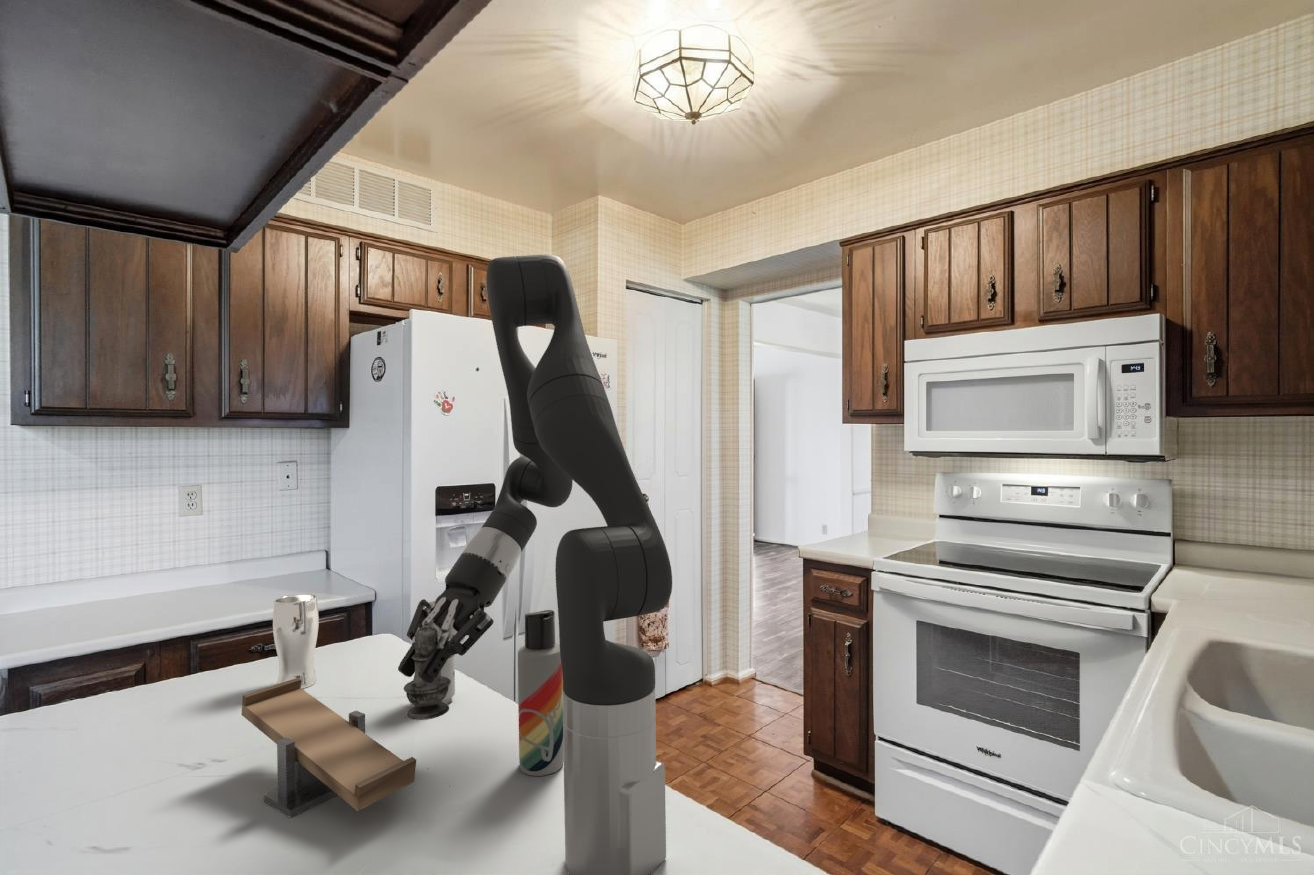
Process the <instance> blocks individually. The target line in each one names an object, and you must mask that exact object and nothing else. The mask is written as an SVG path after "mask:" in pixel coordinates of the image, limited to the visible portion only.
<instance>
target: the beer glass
mask: <svg viewBox="0 0 1314 875" xmlns="http://www.w3.org/2000/svg"><path fill="white" fill-rule="evenodd" d="M272 613H273V614H272V632H273V634H272V635H273V641H274V647H275V650H276V654H277V659H278V677H277V682H276V684H279V683H283V682H286V681H289V680H292V679H295V678H300V679H301V689H303V690H304V689H306V687H307V688H308V687H309V688H310V687H311V686H313V685H315V684H316V682H317V680H318V679H317V674H316V669H315V662H314V661H315V652H316V646H317V640H318V633H319V627H320V626H319V622H320V620H319V619H320V616H319V607H318V596H317V595H316V594H312V593H298V594H291V595H286V596H281V597H280V596H279V597H278V598H276V599H274V601H273V612H272Z"/></svg>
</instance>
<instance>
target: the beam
mask: <svg viewBox="0 0 1314 875" xmlns="http://www.w3.org/2000/svg"><path fill="white" fill-rule="evenodd" d="M241 716H242V717H243V718H244V719H246V720H247V721H248V722H249V723H251V724H252V725H253V726H254V727H255V728H256V729H257V730H259V731H260V732H262V733H263V734H264V735H265V736H266V737H268V738H269V739H270V740H271V741H272V742H274V744H276V745H277V741H278V740H281V739H283V738H288V739H290V740H292V741H294V742H295V760H296V761H298V762H299V763H300V764H301V765H302V766H304V767H305V768H306V769H307V770H308V771H310V772H311V773H312V774H313V775H314V776H316V777H317V778H318V779H319V780H320V781H322V782H323V783H324V784H325V785H326V786H328V787H329V788H330V789H331V790H333V791H334V792H335V793H336V794H337V795H336V796H338V797H340V798H341V799H342V800H343V801H344V802H346V803H347V804H348V805H349V806H351V807H352V808H353V809H354V810H355V811H356V812H359V811H361V810H363V809H364V808H366V807H368V806H370V805H372V804H374V803H376V802H379V801H380V800H381V799H384V798H385V797H387V796H389V795H391V794H393V793H395V792H397V791H399V790H401V789H402V788H403V789H404V788H405V787H407V786H408V785H410V784H412V783H414V782H415V779H416V778H415V777H416V768H417V759H416V758H415V757H414V756H410V757H408V758H407V759H405V760H403V759H402V758H400V757H399V756H398V755H396V754H394V753H393V752H392V751H390V750H389V749H388V748H386V747H384V746H383V745H382V744H380V743H379V742H378V741H376V740H374V739H373V738H372V737H371V736H369V735H368V734H366V732H365V733H363V732H362V731H361V730H359V729H358V728H356V727H355V726H354V725H352V724H351V723H349V720H347V719H345V718H344V717H342V716H341V715H339V714H338V713H336V712H335V711H334V710H332V709H331V708H330V707H328V706H327V705H325V704H324V703H322V702H321V701H320V700H318V699H317V698H316V697H315V696H312V694H310V693H308V692H307V691H306V690H304V688H303V689H301V679H300V678H295V679H292V680H289V681H286V682H283V683H279V684H277V683H276V684H274V685H270V686H267V687H264V688H261V689H258V690H254V691H251V692H248V693H245V694H242V704H241Z"/></svg>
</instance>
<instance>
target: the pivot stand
mask: <svg viewBox="0 0 1314 875" xmlns="http://www.w3.org/2000/svg"><path fill="white" fill-rule="evenodd" d="M348 722H349V723H351V724H352V725H354V726H355V727H356V728H358V729H359V730H361V731H362V732H363V733H365V734H366V713H363V712H361V711H359V710H354V711H351V712H349V713H348ZM276 751H277V752H276V754H277V756H276V758H277V760H276V761H277V762H276V766H277V788H276V789H273V790H272V791H269V792H268V793H265V794H263V802H264V803H265V804H267V805H269V806H270V807H272V808H274V809H276V810H277V811H279V812H280V813H282V814H284V815H285V816H287V817H288V818H293V817H295V816H297V815H300V814H301V813H303V812H305V811H307V810H309V809H311V808H313V807H315V806H317V805H319V804H322V803H324V802H325V801H328V800H330V799H332V798H334V797H335V796H338V795H337V794H336V793H335V792H334V791H333V790H331V789H330V788H329V787H328V786H326V785H325V784H324V783H323V782H322V781H320V780H319V779H318V778H317V777H316V776H314V775H313V774H312V773H311V772H310V771H308V770H307V769H306V768H305V767H304V766H302V765H301V764H300V763H299V762H298V761H296V760H295V742H294V741H292V740H290V739H288V738H283V739H281V740H278V741H277V744H276Z"/></svg>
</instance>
